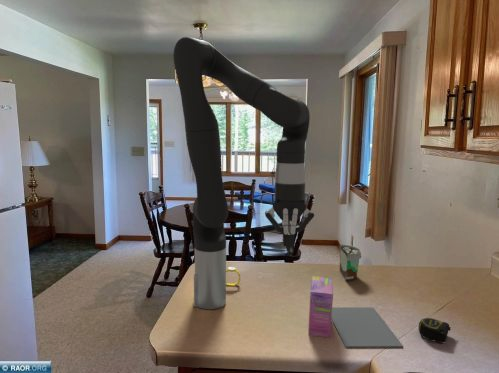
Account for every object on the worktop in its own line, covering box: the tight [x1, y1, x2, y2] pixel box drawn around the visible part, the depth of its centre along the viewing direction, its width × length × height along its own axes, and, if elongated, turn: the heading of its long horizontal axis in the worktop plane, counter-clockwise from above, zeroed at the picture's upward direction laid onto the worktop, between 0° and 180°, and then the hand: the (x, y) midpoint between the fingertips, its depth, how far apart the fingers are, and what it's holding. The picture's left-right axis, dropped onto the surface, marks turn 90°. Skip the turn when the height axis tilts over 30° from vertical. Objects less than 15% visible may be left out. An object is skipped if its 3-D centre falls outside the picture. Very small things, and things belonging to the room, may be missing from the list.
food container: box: [339, 244, 362, 282], centre depth 134 cm, size 12×6×10 cm, turn 179°
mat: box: [331, 306, 404, 349], centre depth 100 cm, size 14×20×1 cm
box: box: [307, 275, 334, 339], centre depth 98 cm, size 10×6×12 cm, turn 168°
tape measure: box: [418, 317, 452, 343], centre depth 95 cm, size 7×7×4 cm
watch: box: [226, 266, 241, 287], centre depth 125 cm, size 6×3×6 cm, turn 91°
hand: (288, 247), depth 96 cm, fingers closed
